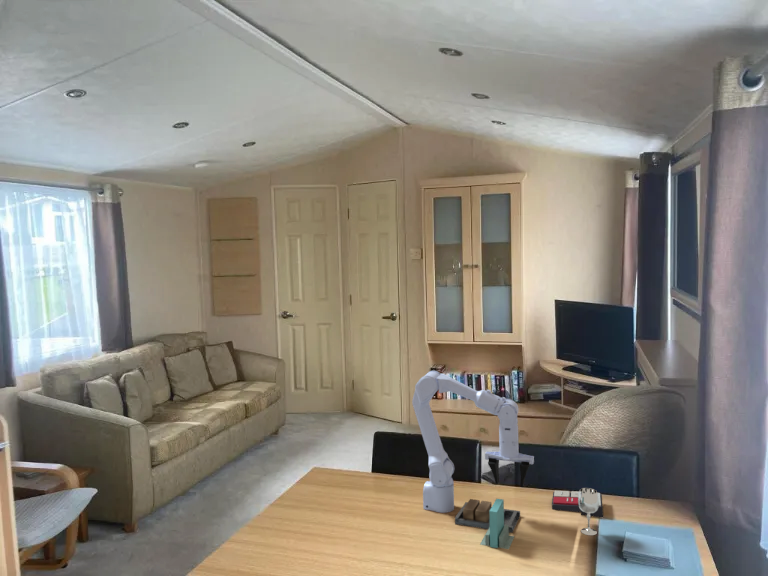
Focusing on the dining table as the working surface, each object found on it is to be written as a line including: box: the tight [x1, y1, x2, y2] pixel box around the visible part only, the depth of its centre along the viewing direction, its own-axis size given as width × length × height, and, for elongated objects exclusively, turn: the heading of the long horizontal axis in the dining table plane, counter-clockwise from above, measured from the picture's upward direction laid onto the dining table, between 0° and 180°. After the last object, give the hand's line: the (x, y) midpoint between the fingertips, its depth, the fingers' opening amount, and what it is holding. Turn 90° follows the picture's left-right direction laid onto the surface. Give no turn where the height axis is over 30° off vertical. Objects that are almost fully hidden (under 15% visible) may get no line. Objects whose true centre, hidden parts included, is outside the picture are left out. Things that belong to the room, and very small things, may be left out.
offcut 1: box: [463, 498, 481, 520], centre depth 183 cm, size 3×8×4 cm, turn 157°
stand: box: [479, 525, 515, 550], centre depth 167 cm, size 8×8×4 cm
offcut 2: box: [475, 500, 493, 522], centre depth 181 cm, size 3×8×4 cm, turn 157°
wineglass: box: [578, 487, 599, 536], centre depth 173 cm, size 6×6×12 cm
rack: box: [454, 501, 521, 534], centre depth 181 cm, size 17×12×3 cm
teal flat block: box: [489, 498, 505, 549], centre depth 167 cm, size 2×9×10 cm, turn 157°
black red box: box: [551, 490, 604, 518], centre depth 190 cm, size 11×4×15 cm
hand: (509, 484), depth 184 cm, fingers open, 7 cm apart
